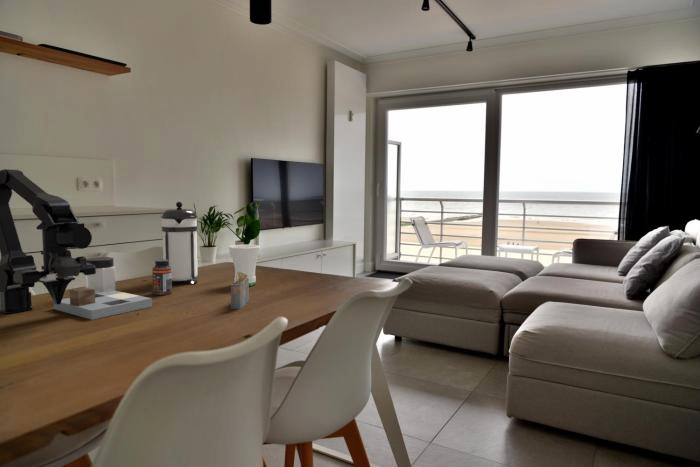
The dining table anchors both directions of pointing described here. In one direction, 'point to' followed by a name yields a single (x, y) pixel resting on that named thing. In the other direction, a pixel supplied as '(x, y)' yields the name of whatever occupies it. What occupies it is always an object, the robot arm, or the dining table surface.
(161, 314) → the dining table surface
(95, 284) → the jar
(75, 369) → the dining table surface
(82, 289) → the walnut block
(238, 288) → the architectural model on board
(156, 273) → the supplement bottle
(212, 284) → the dining table surface
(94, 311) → the trap deck
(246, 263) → the cup
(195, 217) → the coffee press
